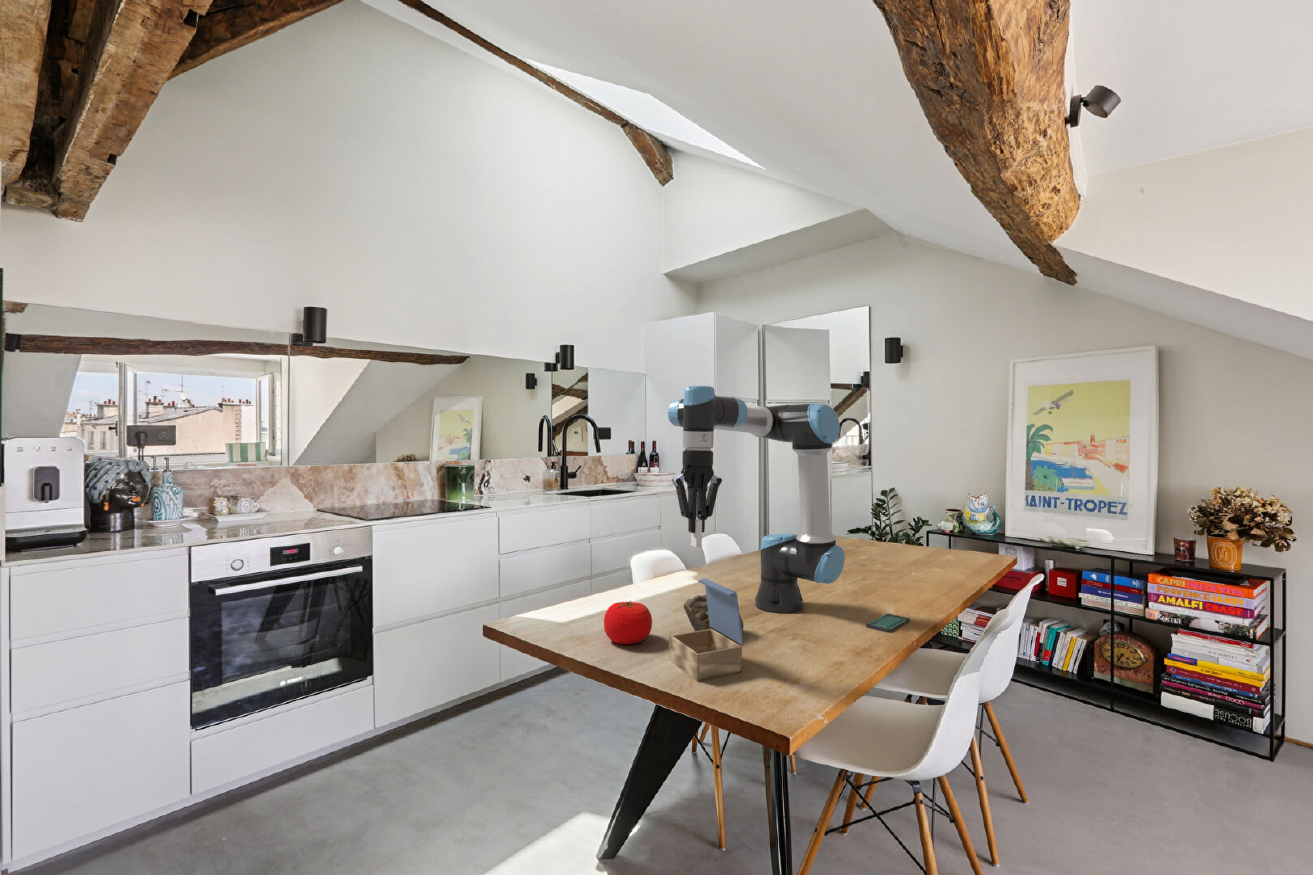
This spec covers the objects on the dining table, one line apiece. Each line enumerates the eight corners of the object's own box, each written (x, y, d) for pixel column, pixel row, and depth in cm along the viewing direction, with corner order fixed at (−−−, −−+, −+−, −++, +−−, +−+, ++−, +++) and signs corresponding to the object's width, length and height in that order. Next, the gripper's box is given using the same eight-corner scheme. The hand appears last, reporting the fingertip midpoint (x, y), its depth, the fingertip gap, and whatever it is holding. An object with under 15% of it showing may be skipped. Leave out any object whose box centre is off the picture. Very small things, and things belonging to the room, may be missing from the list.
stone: (694, 602, 157) (727, 575, 167) (674, 607, 163) (707, 580, 173) (724, 657, 156) (755, 625, 166) (703, 660, 162) (734, 629, 173)
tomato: (597, 634, 166) (597, 597, 166) (641, 629, 171) (641, 592, 170) (612, 652, 153) (612, 612, 153) (659, 646, 157) (659, 606, 157)
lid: (698, 580, 151) (705, 578, 152) (704, 627, 152) (711, 625, 153) (729, 594, 138) (736, 591, 139) (735, 646, 139) (743, 643, 140)
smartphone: (910, 617, 178) (889, 629, 167) (910, 622, 178) (889, 634, 167) (886, 612, 183) (864, 623, 173) (886, 616, 183) (864, 628, 173)
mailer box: (669, 659, 148) (669, 635, 148) (711, 651, 153) (711, 628, 153) (697, 681, 135) (697, 654, 135) (741, 672, 140) (741, 646, 140)
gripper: (681, 449, 140) (679, 550, 140) (729, 450, 146) (727, 547, 145) (667, 448, 147) (665, 545, 147) (713, 449, 152) (711, 542, 152)
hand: (696, 545), depth 146 cm, fingers closed
